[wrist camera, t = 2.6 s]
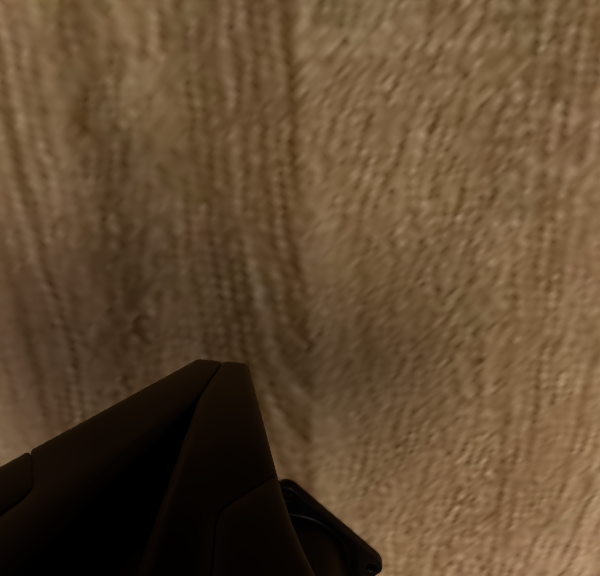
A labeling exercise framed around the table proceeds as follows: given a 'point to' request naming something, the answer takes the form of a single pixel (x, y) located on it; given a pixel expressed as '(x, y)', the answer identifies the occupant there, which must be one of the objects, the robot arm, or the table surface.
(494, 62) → the table surface
